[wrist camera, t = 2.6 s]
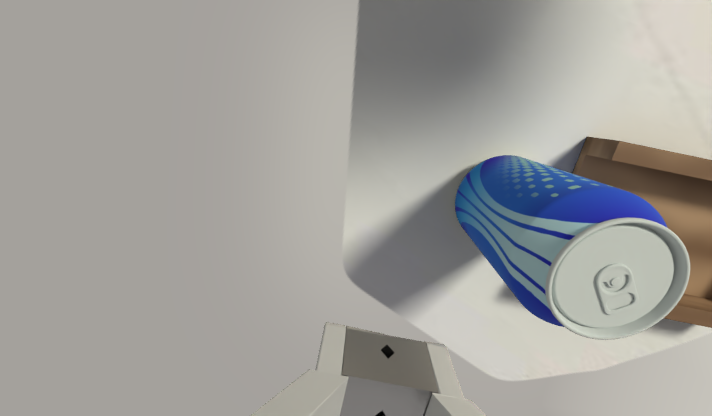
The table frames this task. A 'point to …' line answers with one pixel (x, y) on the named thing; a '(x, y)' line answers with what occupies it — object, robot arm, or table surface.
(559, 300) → the beer can
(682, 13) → the table surface
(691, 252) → the open box
